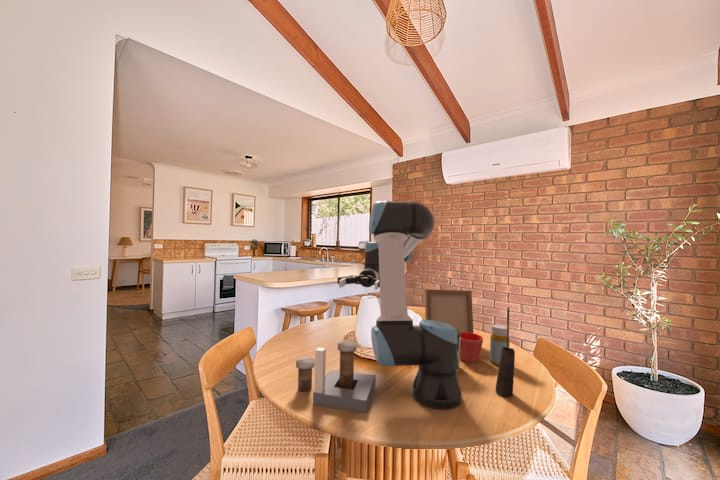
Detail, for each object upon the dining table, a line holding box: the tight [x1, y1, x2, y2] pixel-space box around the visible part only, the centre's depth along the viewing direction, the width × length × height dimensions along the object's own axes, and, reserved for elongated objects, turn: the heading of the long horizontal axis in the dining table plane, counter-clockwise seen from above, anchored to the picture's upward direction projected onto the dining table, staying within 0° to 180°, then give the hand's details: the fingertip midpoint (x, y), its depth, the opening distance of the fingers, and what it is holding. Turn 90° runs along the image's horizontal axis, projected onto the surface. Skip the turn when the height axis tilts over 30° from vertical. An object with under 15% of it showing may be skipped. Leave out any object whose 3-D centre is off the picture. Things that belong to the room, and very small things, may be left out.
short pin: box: [295, 356, 315, 393], centre depth 97 cm, size 6×6×9 cm
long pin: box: [337, 340, 358, 390], centre depth 94 cm, size 6×6×16 cm
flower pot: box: [460, 332, 484, 364], centre depth 124 cm, size 11×11×10 cm
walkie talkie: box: [495, 306, 516, 398], centre depth 96 cm, size 9×10×28 cm
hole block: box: [312, 347, 377, 414], centre depth 94 cm, size 16×16×16 cm
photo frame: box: [424, 289, 474, 333], centre depth 147 cm, size 15×22×25 cm
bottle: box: [489, 323, 510, 367], centre depth 121 cm, size 7×7×15 cm
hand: (357, 285), depth 110 cm, fingers open, 13 cm apart
